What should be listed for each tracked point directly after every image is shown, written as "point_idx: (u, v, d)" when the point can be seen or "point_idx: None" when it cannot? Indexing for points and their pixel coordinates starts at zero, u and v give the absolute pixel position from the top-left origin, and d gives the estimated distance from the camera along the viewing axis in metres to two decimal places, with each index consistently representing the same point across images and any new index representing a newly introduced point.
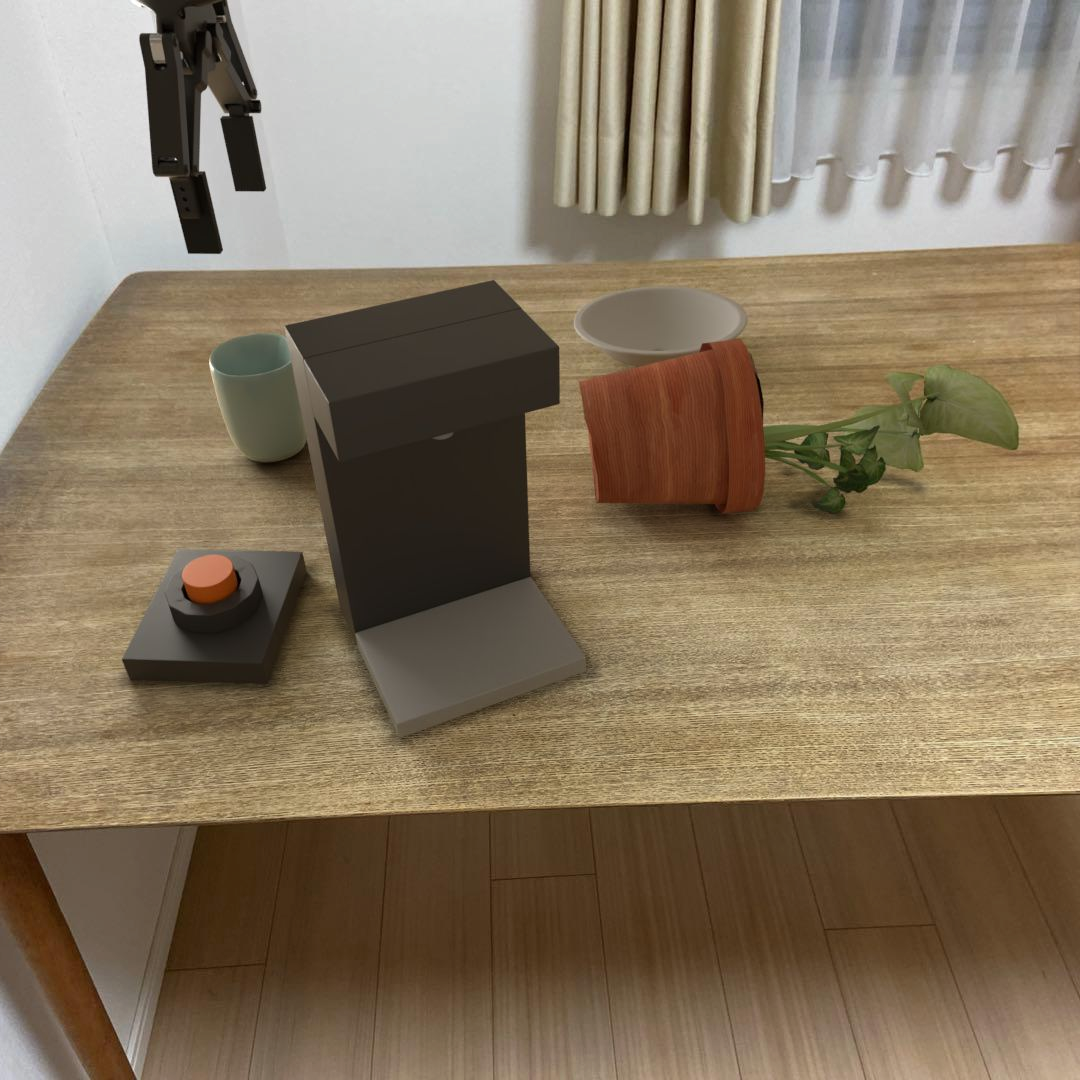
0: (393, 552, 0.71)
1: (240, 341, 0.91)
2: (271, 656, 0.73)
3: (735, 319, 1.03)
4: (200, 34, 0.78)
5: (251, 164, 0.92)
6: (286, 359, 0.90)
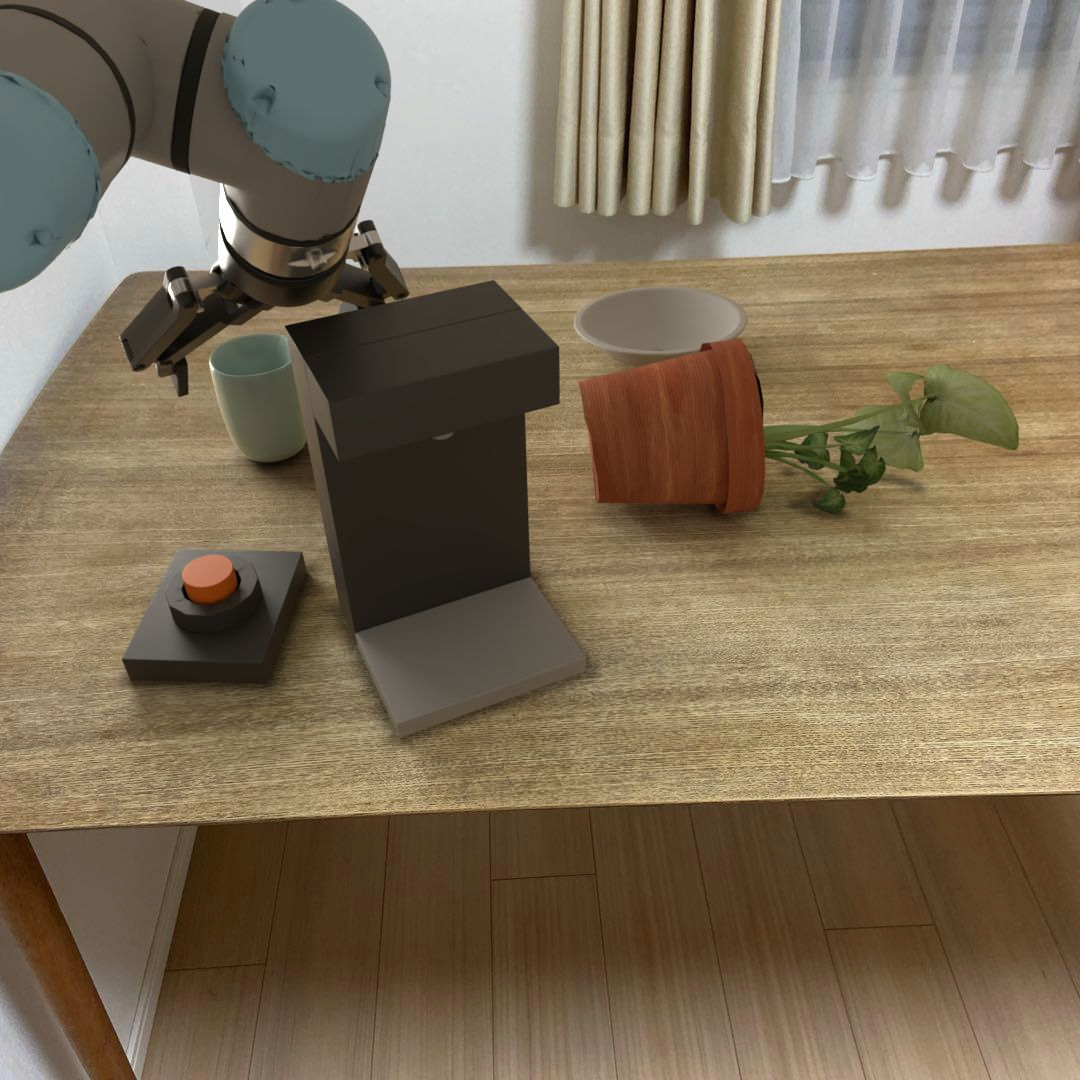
0: (393, 552, 0.71)
1: (240, 341, 0.91)
2: (271, 656, 0.73)
3: (735, 319, 1.03)
4: None
5: None
6: (286, 359, 0.90)
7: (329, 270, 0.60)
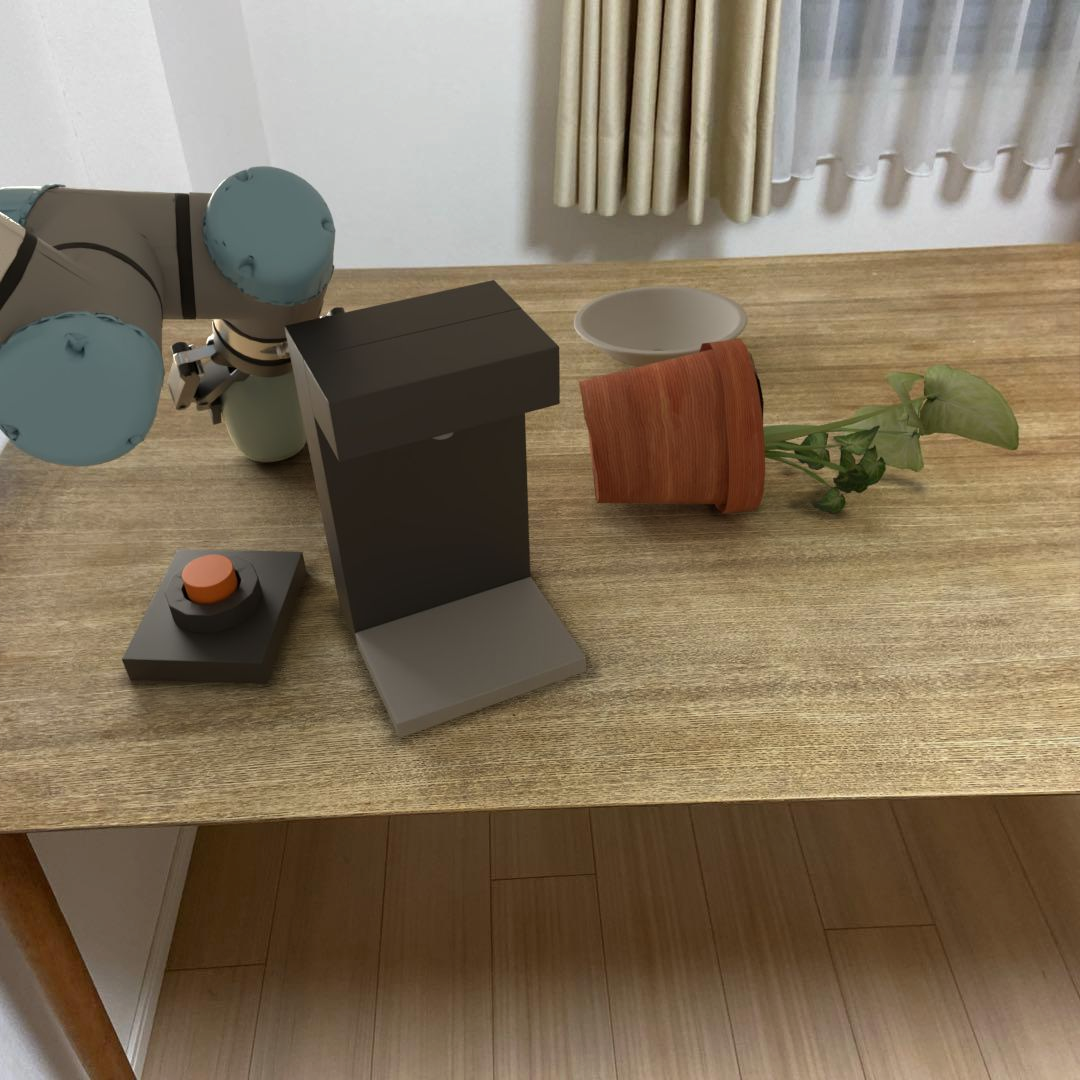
0: (393, 552, 0.71)
1: None
2: (271, 656, 0.73)
3: (735, 319, 1.03)
4: None
5: None
6: None
7: None
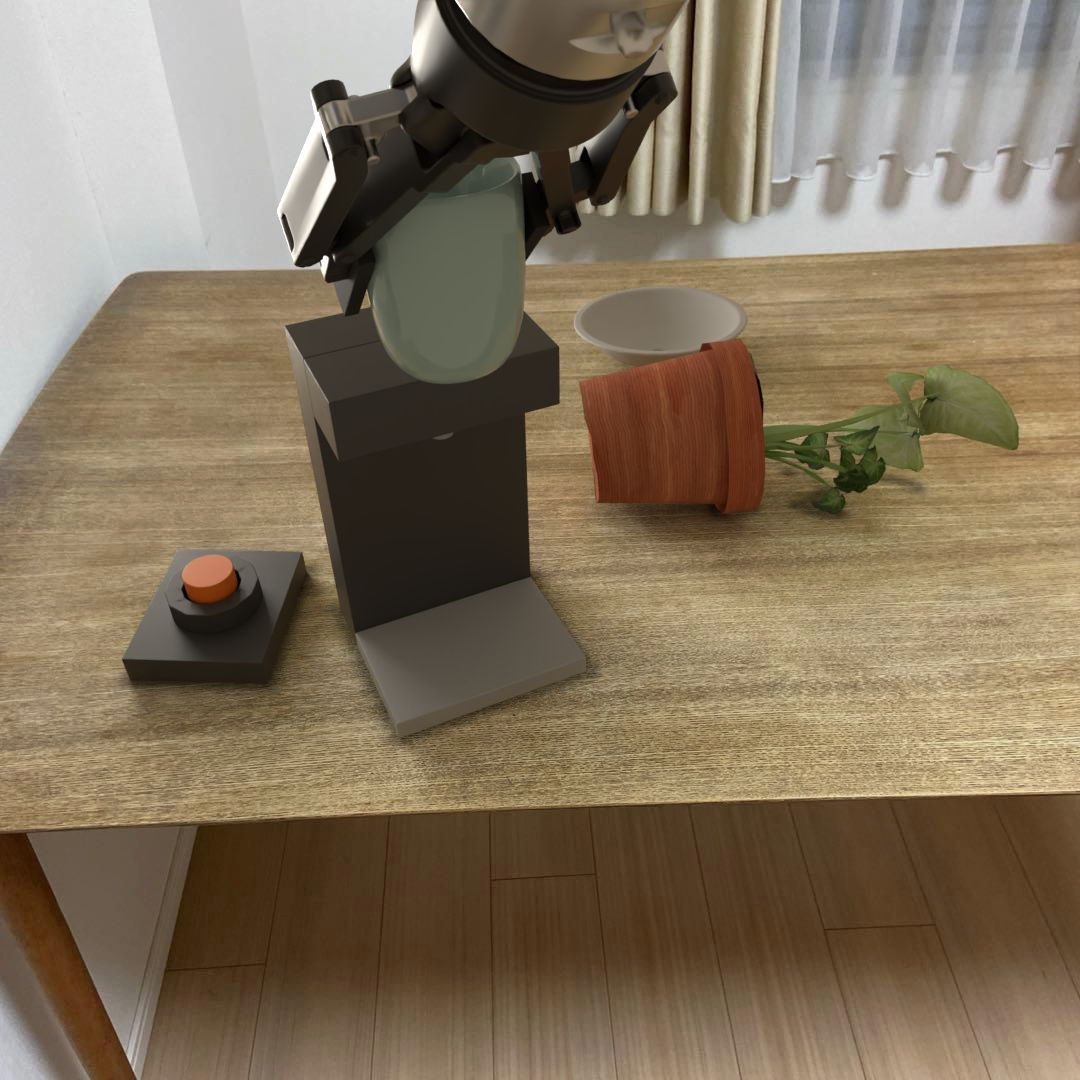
0: (393, 552, 0.71)
1: None
2: (271, 656, 0.73)
3: (735, 319, 1.03)
4: (477, 135, 0.36)
5: None
6: (488, 187, 0.48)
7: (627, 78, 0.31)
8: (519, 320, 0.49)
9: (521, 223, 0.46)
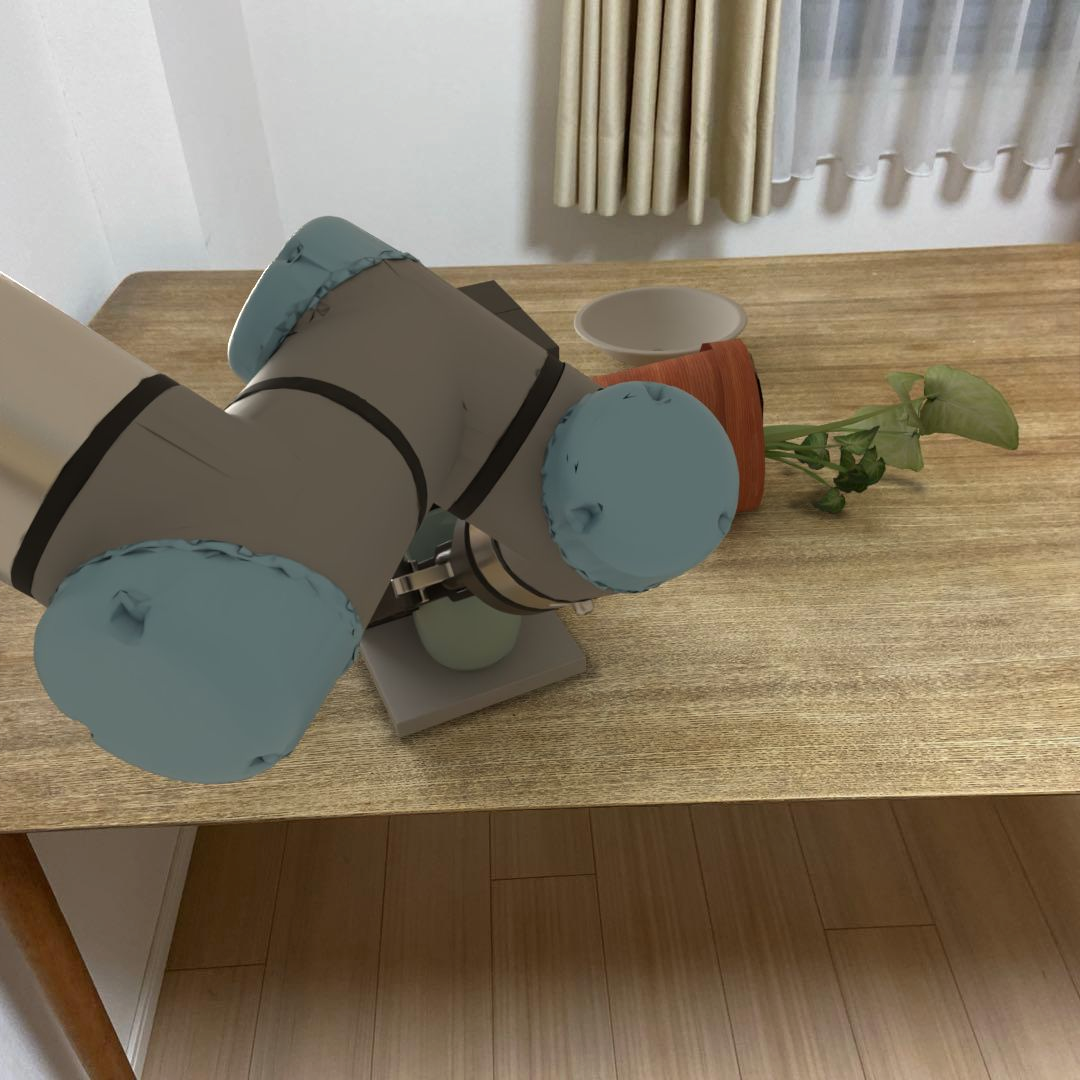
0: None
1: (436, 515, 0.68)
2: None
3: (735, 319, 1.03)
4: None
5: None
6: None
7: None
8: (518, 629, 0.69)
9: None
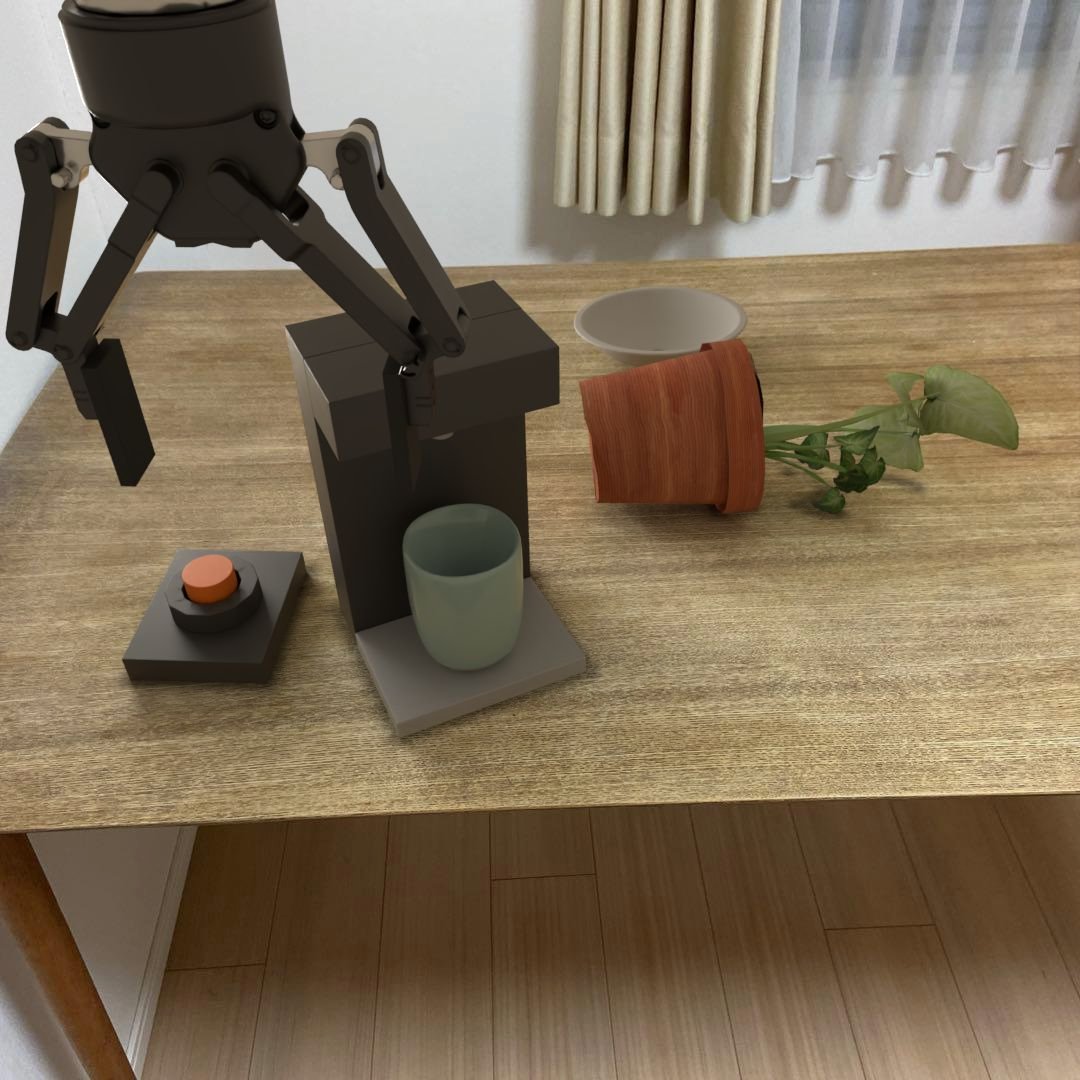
0: (393, 552, 0.71)
1: (436, 515, 0.68)
2: (271, 656, 0.73)
3: (735, 319, 1.03)
4: (147, 170, 0.39)
5: None
6: (497, 539, 0.68)
7: (175, 21, 0.34)
8: (518, 629, 0.69)
9: (520, 575, 0.66)
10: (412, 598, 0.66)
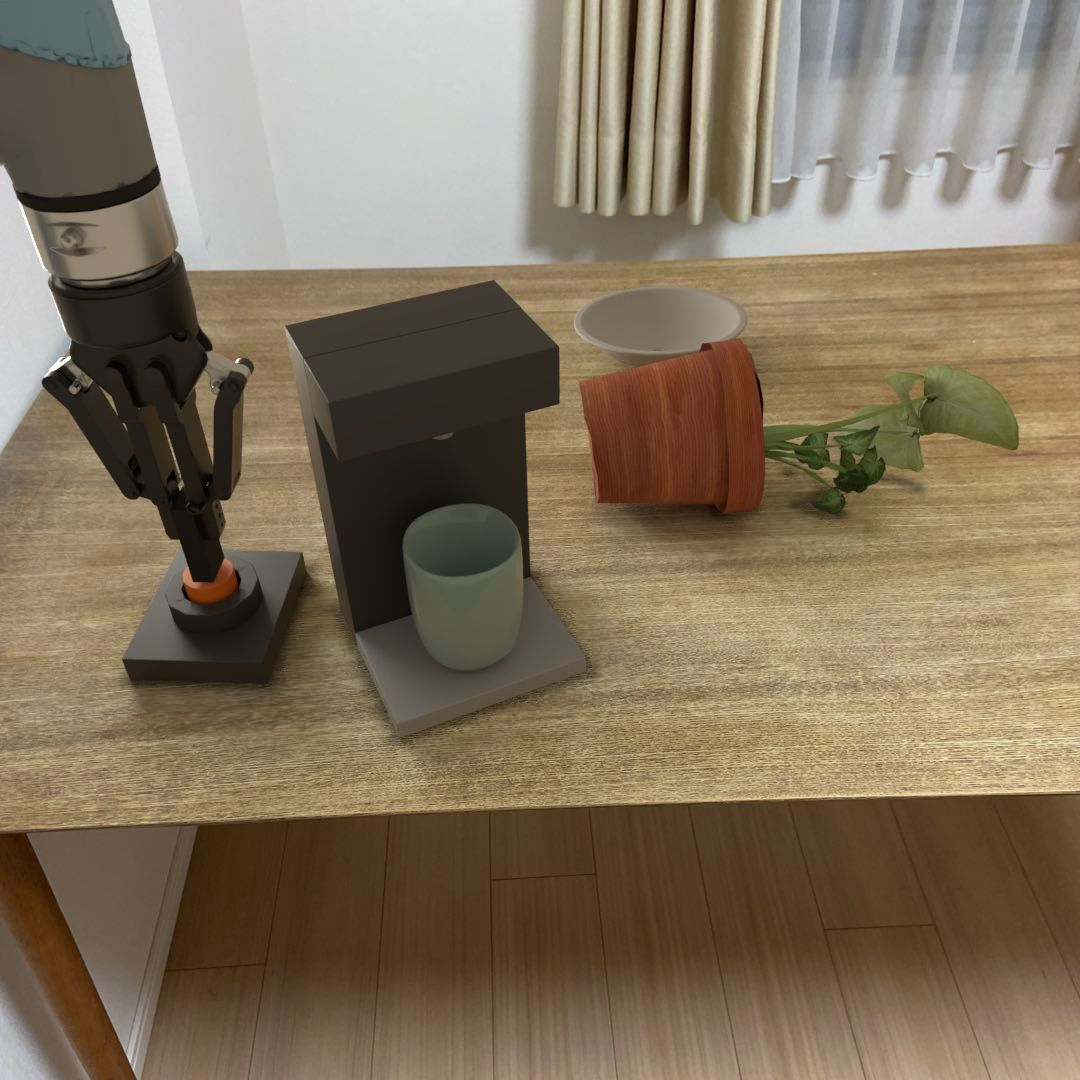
0: (393, 552, 0.71)
1: (436, 515, 0.68)
2: (271, 656, 0.73)
3: (735, 319, 1.03)
4: (106, 365, 0.61)
5: None
6: (497, 539, 0.68)
7: (118, 293, 0.56)
8: (518, 629, 0.69)
9: (520, 575, 0.66)
10: (412, 598, 0.66)
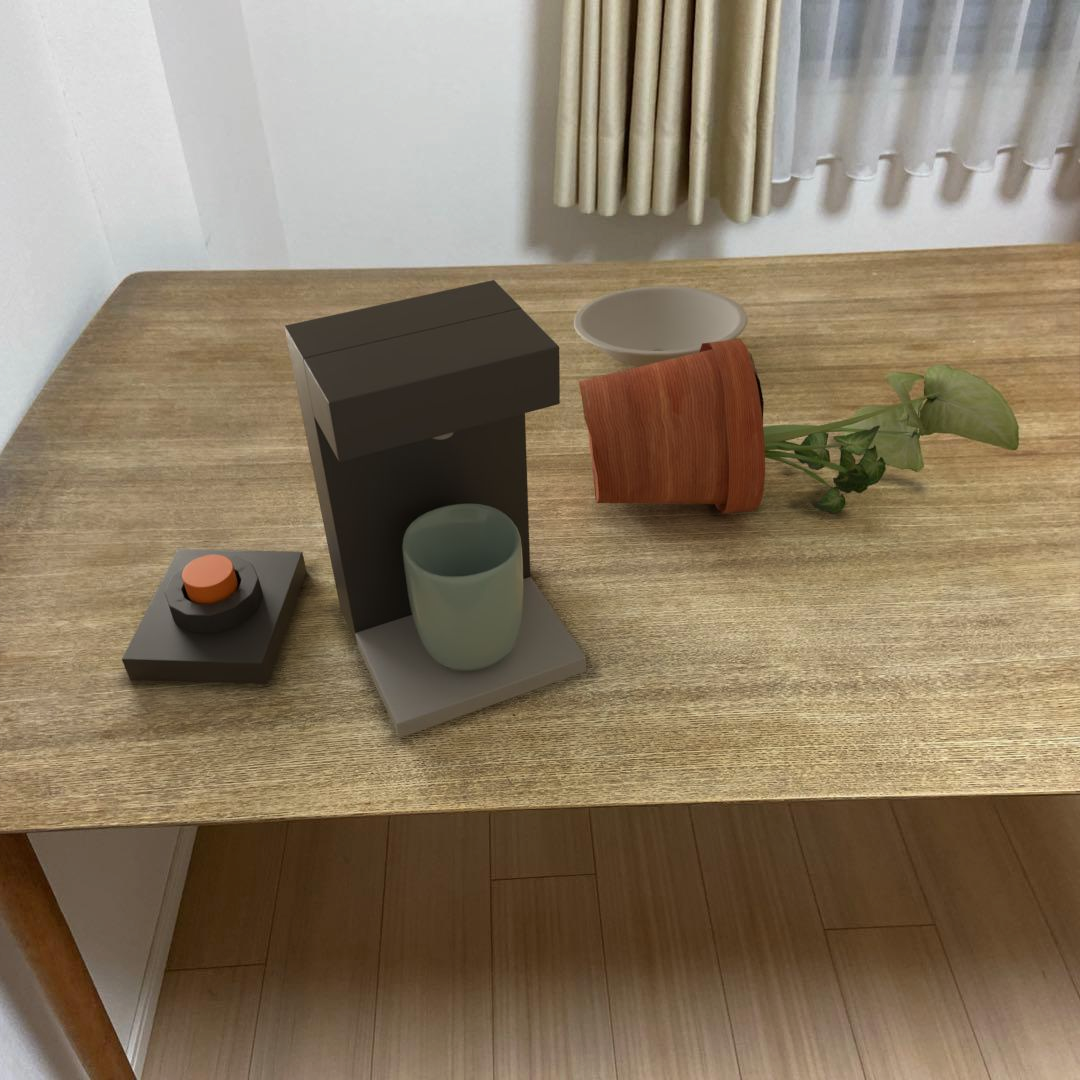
0: (393, 552, 0.71)
1: (436, 515, 0.68)
2: (271, 656, 0.73)
3: (735, 319, 1.03)
4: None
5: None
6: (497, 539, 0.68)
7: None
8: (518, 629, 0.69)
9: (520, 575, 0.66)
10: (412, 598, 0.66)
